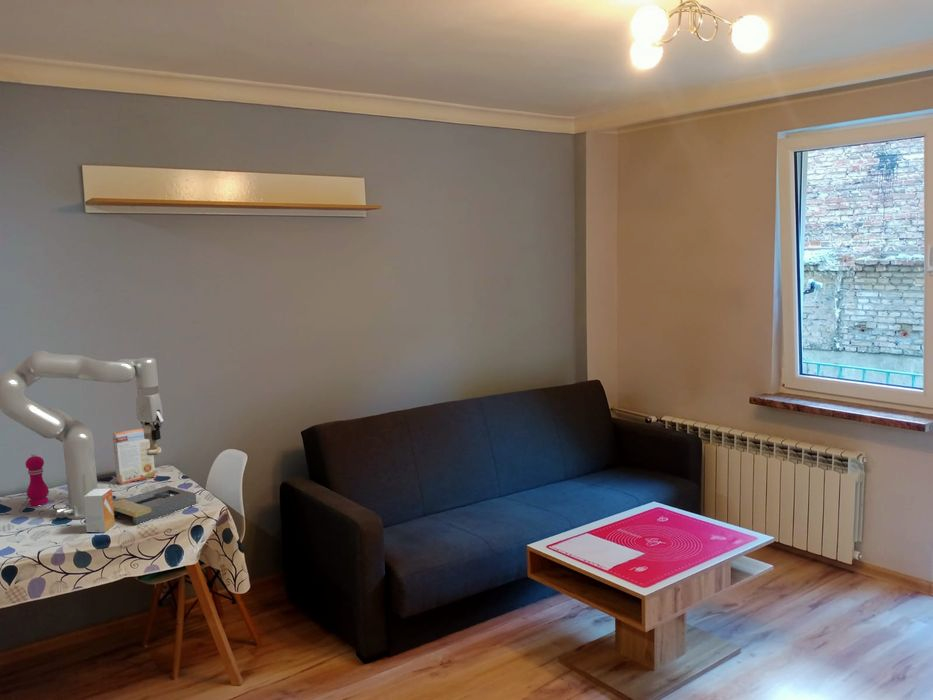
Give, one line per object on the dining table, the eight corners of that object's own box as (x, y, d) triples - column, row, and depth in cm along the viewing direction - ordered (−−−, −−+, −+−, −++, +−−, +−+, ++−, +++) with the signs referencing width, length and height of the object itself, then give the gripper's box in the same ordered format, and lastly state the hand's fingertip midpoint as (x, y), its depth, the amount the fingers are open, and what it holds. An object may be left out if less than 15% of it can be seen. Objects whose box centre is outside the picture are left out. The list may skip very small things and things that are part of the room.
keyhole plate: (136, 525, 254) (135, 513, 254) (108, 515, 265) (106, 503, 264) (196, 505, 274) (195, 493, 273) (168, 496, 284) (167, 485, 283)
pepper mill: (29, 508, 274) (24, 456, 272) (26, 503, 280) (20, 452, 277) (51, 504, 279) (46, 452, 276) (47, 499, 284) (42, 449, 282)
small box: (105, 532, 249) (102, 495, 247) (86, 533, 248) (82, 496, 246) (115, 523, 257) (112, 487, 255) (96, 524, 256) (93, 488, 254)
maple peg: (152, 456, 273) (149, 427, 272) (144, 454, 276) (141, 425, 274) (164, 452, 277) (161, 424, 276) (155, 451, 280) (153, 422, 279)
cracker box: (151, 474, 314) (147, 426, 311) (155, 477, 309) (151, 429, 306) (116, 481, 305) (111, 432, 302) (120, 485, 300) (116, 435, 298)
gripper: (125, 391, 275) (130, 439, 277) (152, 394, 266) (157, 444, 268) (143, 387, 281) (147, 434, 283) (171, 391, 272) (175, 439, 275)
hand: (152, 438), depth 276 cm, fingers closed on maple peg, 4 cm apart
